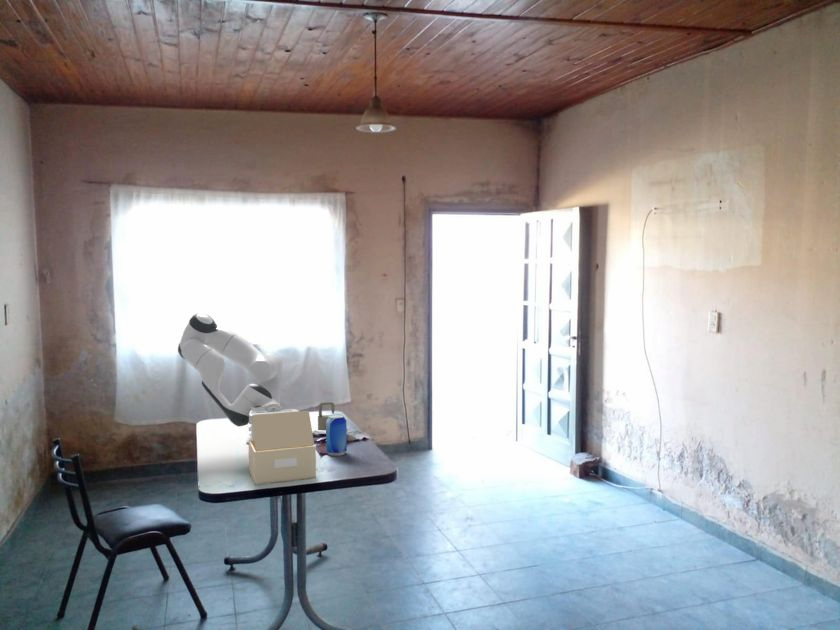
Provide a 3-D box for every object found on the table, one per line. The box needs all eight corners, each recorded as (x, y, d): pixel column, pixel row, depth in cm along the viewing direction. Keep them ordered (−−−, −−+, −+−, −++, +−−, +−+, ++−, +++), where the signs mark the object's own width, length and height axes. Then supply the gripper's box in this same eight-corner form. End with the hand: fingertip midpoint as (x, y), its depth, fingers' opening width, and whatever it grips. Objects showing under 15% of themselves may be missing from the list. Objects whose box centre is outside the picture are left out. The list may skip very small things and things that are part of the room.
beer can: (332, 457, 272) (332, 419, 271) (322, 453, 279) (322, 415, 278) (350, 454, 277) (350, 416, 276) (340, 449, 284) (340, 412, 283)
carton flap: (252, 415, 245) (252, 415, 245) (308, 411, 253) (308, 410, 252) (255, 450, 238) (255, 449, 237) (313, 444, 245) (314, 444, 245)
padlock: (336, 433, 311) (335, 402, 310) (318, 434, 309) (318, 403, 308) (335, 431, 315) (334, 400, 314) (317, 432, 313) (317, 401, 312)
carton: (249, 470, 255) (248, 440, 254) (306, 464, 262) (305, 434, 262) (255, 485, 238) (254, 452, 237) (316, 478, 246) (315, 446, 245)
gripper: (298, 419, 272) (304, 427, 259) (246, 423, 265) (251, 431, 252) (298, 404, 271) (304, 411, 259) (246, 407, 264) (250, 414, 251)
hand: (277, 420), depth 255 cm, fingers closed
